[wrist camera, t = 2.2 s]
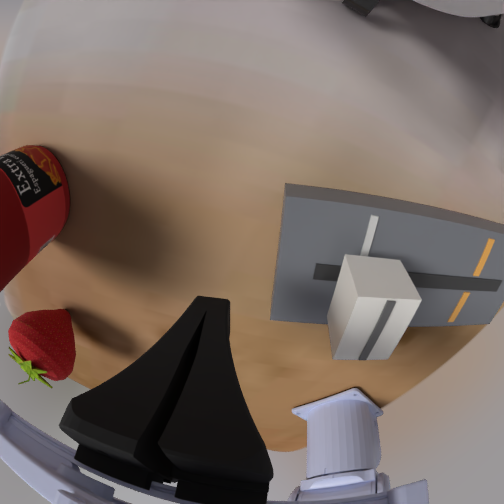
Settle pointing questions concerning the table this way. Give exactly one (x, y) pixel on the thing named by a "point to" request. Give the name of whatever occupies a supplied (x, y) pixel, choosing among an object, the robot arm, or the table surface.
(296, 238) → the fader board
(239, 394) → the robot arm
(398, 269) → the fader knob
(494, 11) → the coffee press
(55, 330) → the strawberry
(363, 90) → the table surface
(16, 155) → the canned food
